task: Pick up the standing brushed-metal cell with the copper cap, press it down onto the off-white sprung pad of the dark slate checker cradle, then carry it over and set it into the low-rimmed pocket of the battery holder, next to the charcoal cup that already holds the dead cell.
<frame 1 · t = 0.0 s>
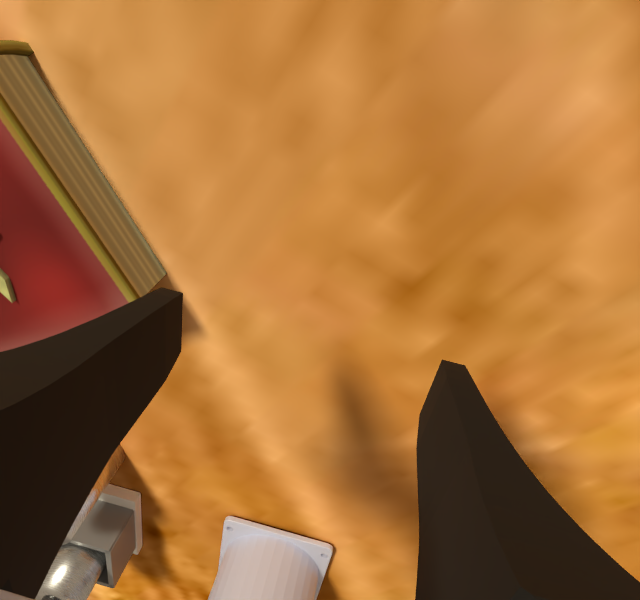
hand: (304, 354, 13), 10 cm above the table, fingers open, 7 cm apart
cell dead: (104, 520, 37), point 1 cm above the table, touching battery holder
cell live: (100, 448, 34), on the table
battery holder: (76, 501, 38), on the table
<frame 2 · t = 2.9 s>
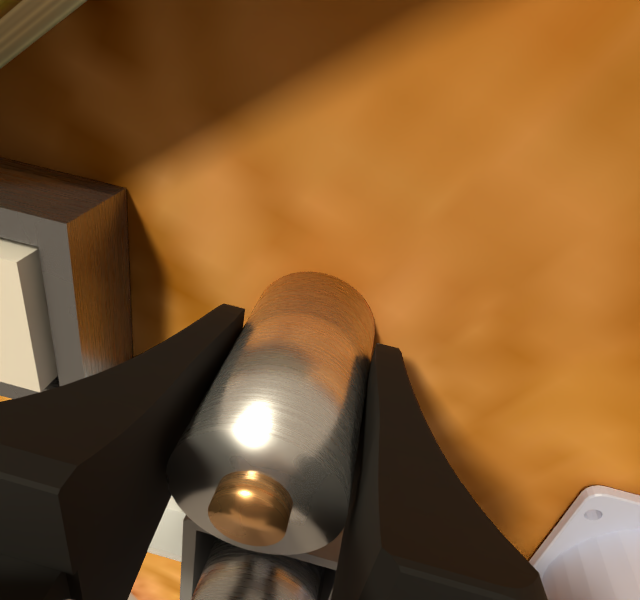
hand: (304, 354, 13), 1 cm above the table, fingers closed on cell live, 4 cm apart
cradle: (33, 262, 15), on the table
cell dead: (284, 498, 17), point 1 cm above the table, touching battery holder
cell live: (314, 325, 14), on the table, touching gripper
battery holder: (218, 461, 18), on the table
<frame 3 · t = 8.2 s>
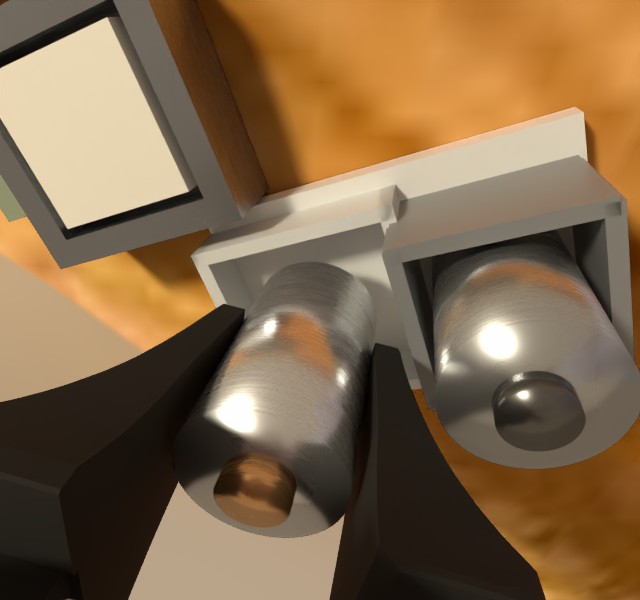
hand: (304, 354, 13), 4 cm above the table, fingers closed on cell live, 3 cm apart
cradle: (136, 117, 15), on the table
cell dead: (495, 261, 14), point 1 cm above the table, touching battery holder, gripper
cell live: (316, 315, 14), point 2 cm above the table, touching gripper
battery holder: (402, 269, 16), on the table
pad: (96, 132, 13), point 2 cm above the table, slide at -0.4 cm
when the fingers open (4 cm above the table, at t = 8.8 s): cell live stays where it is, resting on battery holder.
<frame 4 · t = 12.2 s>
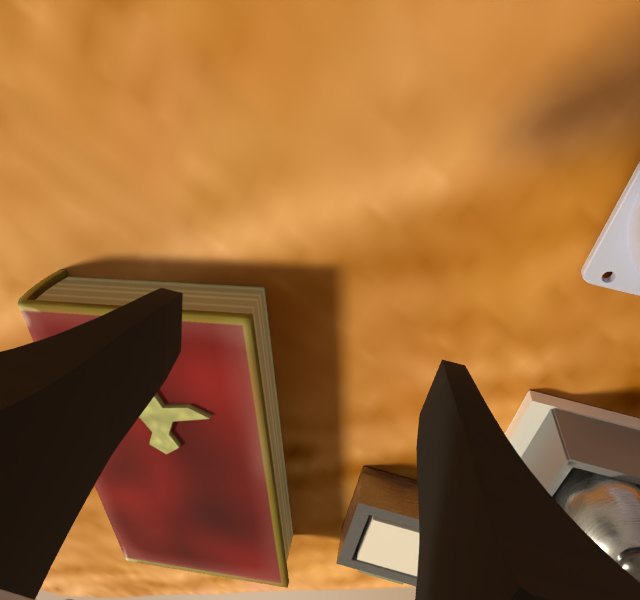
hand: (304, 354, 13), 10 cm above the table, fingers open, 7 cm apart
cradle: (400, 511, 31), on the table
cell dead: (580, 466, 25), point 1 cm above the table, tilted 13°, touching battery holder
hardcover book: (199, 415, 31), on the table
battery holder: (551, 476, 27), on the table
pad: (399, 542, 29), point 2 cm above the table, slide at -0.4 cm
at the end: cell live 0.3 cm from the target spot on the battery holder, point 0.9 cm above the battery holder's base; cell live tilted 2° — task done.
